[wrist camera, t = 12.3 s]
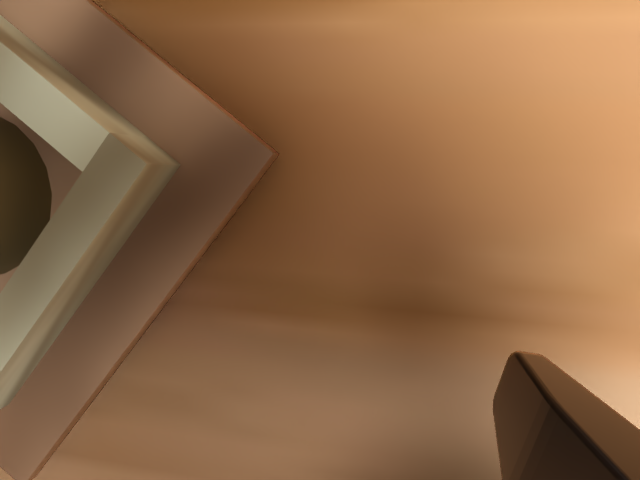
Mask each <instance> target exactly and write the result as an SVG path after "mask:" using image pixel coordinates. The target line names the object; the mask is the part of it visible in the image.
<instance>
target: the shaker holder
mask: <svg viewBox="0 0 640 480" xmlns="http://www.w3.org/2000/svg"><path fill="white" fill-rule="evenodd" d="M0 117H1V118H3V119H5V120H7V121H9V122H11V123H13V124H15V125H16V126H17V127H18V128H19V129H20V130H21V131H22V132H23V133H24V134H25V135H26V136H27V137H28V138H29V139H30V140H31V141H32V142H33V143H34V145H35V147H36V148H37V150H38V152H39V154H40V156H41V158H42V160H43V162H44V164H45V166H46V168H47V172H48V177H49V182H50V187H51V191H52V202H51V214H50V221H49V222H48V224H47V225H46V227H45V228H44V230H43V231H42V232H41V234H40V235H39V237H38V238H37V240H36V241H35V243H34V244H33V246H32V247H31V249H30V250H29V252H28V253H27V255H26V256H25V258H24V259H23V260H22V262H21V263H20V265H19V266H18V267H16V268H14V269H12V270H11V271H9V272H7V273H5V274H0V467H1V468H2V469H3V470H4V471H6V472H7V473H8V474H9V475H10V476H11V477H12V478H13V479H14V480H32V479H33V478H34V477H36V475H37V474H38V473H39V472H40V470H41V469H42V468H43V466H44V465H45V464H46V462H47V461H48V460H49V458H50V457H51V456H52V454H53V453H54V452H55V450H56V449H57V448H58V446H59V445H60V444H61V442H62V441H63V440H64V438H65V437H66V436H67V434H68V433H69V432H70V430H71V429H72V428H73V427H74V425H75V424H76V423H77V421H78V420H79V419H80V417H81V416H82V415H83V413H84V412H85V411H86V409H87V408H88V407H89V405H90V404H91V403H92V401H93V400H94V399H95V397H96V396H97V395H98V393H99V392H100V391H101V389H102V388H103V387H104V385H105V384H106V383H107V382H108V380H109V379H110V378H111V376H112V375H113V374H114V372H115V371H116V370H117V368H118V367H119V366H120V364H121V363H122V362H123V360H124V359H125V358H126V356H127V355H128V354H129V352H130V351H131V350H132V348H133V347H134V346H135V344H136V343H137V342H138V340H139V339H140V338H141V336H142V335H143V334H144V333H145V331H146V330H147V329H148V327H149V326H150V325H151V323H152V322H153V321H154V319H155V318H156V317H157V315H158V314H159V313H160V311H161V310H162V309H163V307H164V306H165V305H166V303H167V302H168V301H169V299H170V298H171V297H172V295H173V294H174V293H175V291H176V290H177V289H178V288H179V286H180V285H181V284H182V282H183V281H184V280H185V278H186V277H187V276H188V274H189V273H190V272H191V270H192V269H193V268H194V266H195V265H196V264H197V262H198V261H199V260H200V258H201V257H202V256H203V254H204V253H205V252H206V250H207V249H208V248H209V246H210V245H211V244H212V243H213V241H214V240H215V239H216V237H217V236H218V235H219V233H220V232H221V231H222V229H223V228H224V227H225V225H226V224H227V223H228V221H229V220H230V219H231V217H232V216H233V215H234V213H235V212H236V211H237V209H238V208H239V207H240V205H241V204H242V203H243V201H244V200H245V199H246V197H247V196H248V195H249V194H250V192H251V191H252V190H253V188H254V187H255V186H256V184H257V183H258V182H259V180H260V179H261V178H262V176H263V175H264V174H265V172H266V171H267V170H268V168H269V167H270V166H271V164H272V163H273V162H274V160H275V159H276V158H277V156H278V155H279V153H278V152H276V151H275V150H274V149H273V148H272V147H270V146H269V145H268V144H267V143H265V142H264V141H263V140H262V139H261V138H259V137H258V136H257V135H256V134H254V133H253V132H252V131H251V130H250V129H248V128H247V127H246V126H245V125H243V124H242V123H241V122H240V121H239V120H237V119H236V118H235V117H234V116H232V115H231V114H230V113H229V112H228V111H226V110H225V109H224V108H223V107H221V106H220V105H219V104H218V103H216V102H215V101H214V100H213V99H212V98H210V97H209V96H208V95H207V94H205V93H204V92H203V91H202V90H201V89H199V88H198V87H197V86H196V85H194V84H193V83H192V82H191V81H190V80H188V79H187V78H186V77H185V76H183V75H182V74H181V73H180V72H179V71H177V70H176V69H175V68H174V67H172V66H171V65H170V64H169V63H168V62H166V61H165V60H164V59H163V58H161V57H160V56H159V55H158V54H156V53H155V52H154V51H153V50H152V49H150V48H149V47H148V46H147V45H145V44H144V43H143V42H142V41H141V40H139V39H138V38H137V37H136V36H134V35H133V34H132V33H131V32H130V31H128V30H127V29H126V28H125V27H123V26H122V25H121V24H120V23H119V22H117V21H116V20H115V19H114V18H112V17H111V16H110V15H109V14H108V13H106V12H105V11H104V10H103V9H101V8H100V7H99V6H98V5H96V4H95V3H94V2H93V1H92V0H0Z"/></svg>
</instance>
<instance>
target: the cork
mask: <svg viewBox="0 0 640 480" xmlns="http://www.w3.org/2000/svg"><path fill="white" fill-rule="evenodd" d="M51 202H52V191H51V187H50V182H49V177H48V172H47V168H46V166H45V164H44V162H43V160H42V158H41V156H40V154H39V152H38V150H37V148H36V147H35V145H34V143H33V142H32V141H31V140H30V139H29V138H28V137H27V136H26V135H25V134H24V133H23V132H22V131H21V130H20V129H19V128H18V127H17V126H16V125H15V124H13V123H11V122H9V121H7V120H5V119H3V118H1V117H0V274H5V273H7V272H9V271H11V270H12V269H14V268H16V267H18V266H19V265H20V263H21V262H22V260H23V259H24V258H25V256H26V255H27V253H28V252H29V250H30V249H31V247H32V246H33V244H34V243H35V241H36V240H37V238H38V237H39V235H40V234H41V232H42V231H43V230H44V228H45V227H46V225H47V224H48V222H49V221H50V214H51Z"/></svg>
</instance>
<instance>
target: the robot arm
mask: <svg viewBox="0 0 640 480" xmlns="http://www.w3.org/2000/svg"><path fill="white" fill-rule="evenodd" d="M493 415H494V423H495V430H496V437H497V445H498V452H499V459H500V467H501V474H502V480H640V429H638V428H637V427H636V426H634V425H633V424H632V423H630V422H629V421H628V420H626V419H625V418H624V417H623V416H621V415H620V414H619V413H617V412H616V411H615V410H613V409H612V408H611V407H610V406H608V405H607V404H606V403H604V402H603V401H602V400H600V399H599V398H598V397H596V396H595V395H594V394H593V393H591V392H590V391H589V390H587V389H586V388H585V387H583V386H582V385H581V384H580V383H578V382H577V381H576V380H574V379H573V378H572V377H570V376H569V375H568V374H566V373H565V372H564V371H563V370H561V369H560V368H559V367H557V366H556V365H555V364H553V363H552V362H551V361H549V360H548V359H547V358H546V357H544V356H543V355H540V354H535V353H528V352H521V351H515V352H513V353H512V354H511V355H510V356H509V358H508V360H507V363H506V365H505V368H504V371H503V374H502V376H501V379H500V382H499V384H498V387H497V390H496V392H495V396H494V400H493Z"/></svg>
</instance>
